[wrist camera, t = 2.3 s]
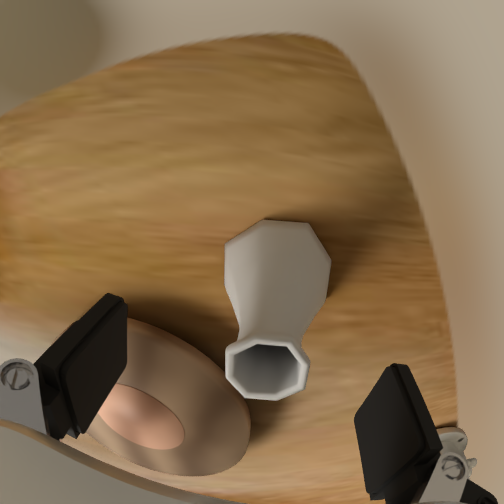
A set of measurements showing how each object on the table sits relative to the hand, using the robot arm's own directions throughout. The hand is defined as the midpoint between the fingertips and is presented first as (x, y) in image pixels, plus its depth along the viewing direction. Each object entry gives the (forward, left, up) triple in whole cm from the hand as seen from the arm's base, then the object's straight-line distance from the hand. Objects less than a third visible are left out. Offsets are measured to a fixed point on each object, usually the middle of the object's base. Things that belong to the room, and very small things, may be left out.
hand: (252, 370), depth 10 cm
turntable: (+7, +16, -9) cm, 20 cm away
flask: (-1, 0, -11) cm, 11 cm away
